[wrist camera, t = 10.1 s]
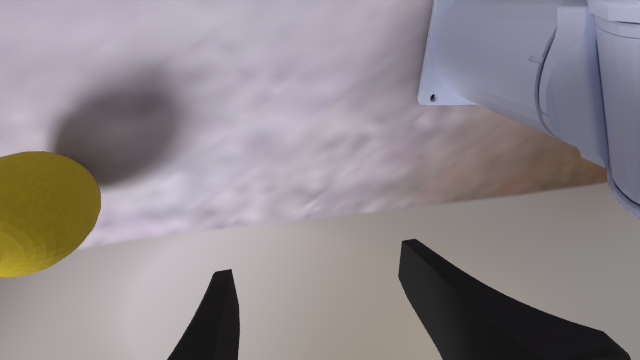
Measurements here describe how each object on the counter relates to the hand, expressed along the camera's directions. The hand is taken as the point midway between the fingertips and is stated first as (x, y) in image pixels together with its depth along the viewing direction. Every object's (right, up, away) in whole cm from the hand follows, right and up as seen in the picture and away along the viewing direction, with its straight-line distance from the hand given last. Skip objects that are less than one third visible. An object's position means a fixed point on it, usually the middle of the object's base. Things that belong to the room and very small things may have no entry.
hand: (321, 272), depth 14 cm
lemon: (-15, +4, +7) cm, 17 cm away
